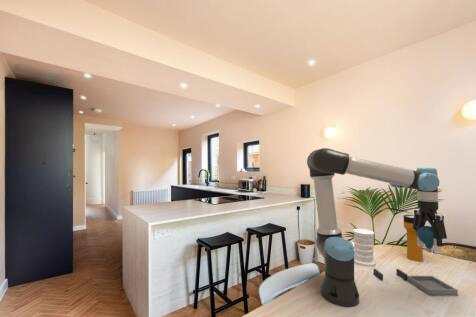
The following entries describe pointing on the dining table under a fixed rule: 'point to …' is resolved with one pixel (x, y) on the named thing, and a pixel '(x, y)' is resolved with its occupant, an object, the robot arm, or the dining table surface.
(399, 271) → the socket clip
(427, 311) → the dining table surface
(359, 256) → the decorative container
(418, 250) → the flashlight
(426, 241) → the light bulb
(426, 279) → the parts tray
